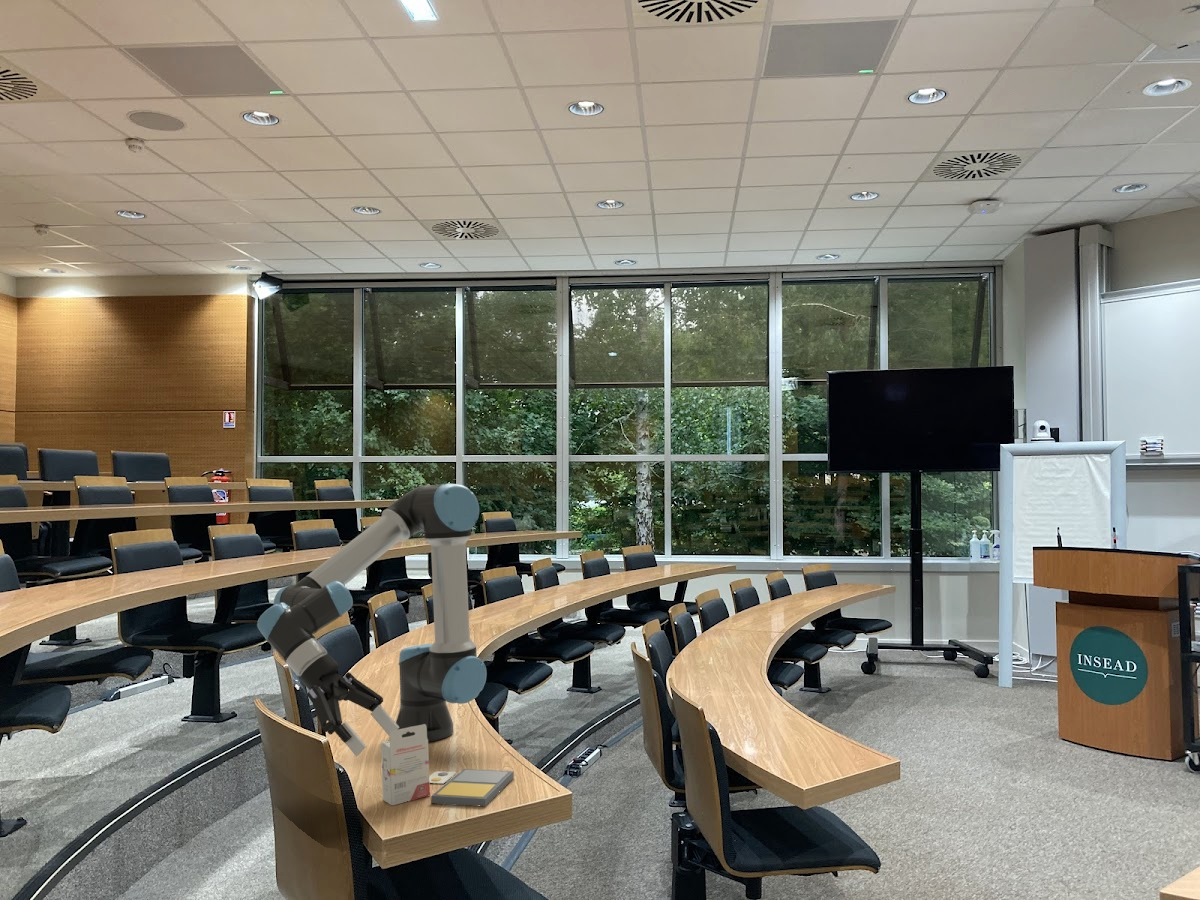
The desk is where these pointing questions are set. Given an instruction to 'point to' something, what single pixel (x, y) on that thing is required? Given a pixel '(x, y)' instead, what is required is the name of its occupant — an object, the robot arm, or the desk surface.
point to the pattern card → (440, 777)
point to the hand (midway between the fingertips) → (378, 741)
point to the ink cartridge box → (405, 765)
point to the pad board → (472, 787)
